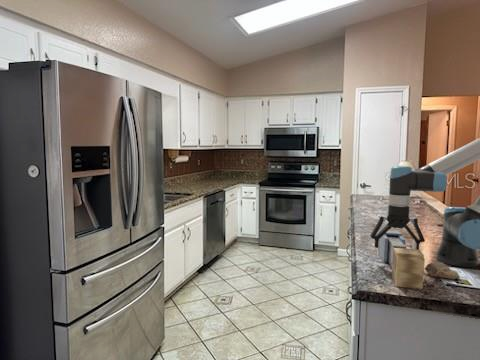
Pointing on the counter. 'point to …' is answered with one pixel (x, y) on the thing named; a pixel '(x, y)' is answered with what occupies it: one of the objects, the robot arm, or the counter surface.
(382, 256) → the grey u-shaped block
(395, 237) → the light grey long block
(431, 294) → the counter surface
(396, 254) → the cardboard box
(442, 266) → the rock
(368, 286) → the counter surface
